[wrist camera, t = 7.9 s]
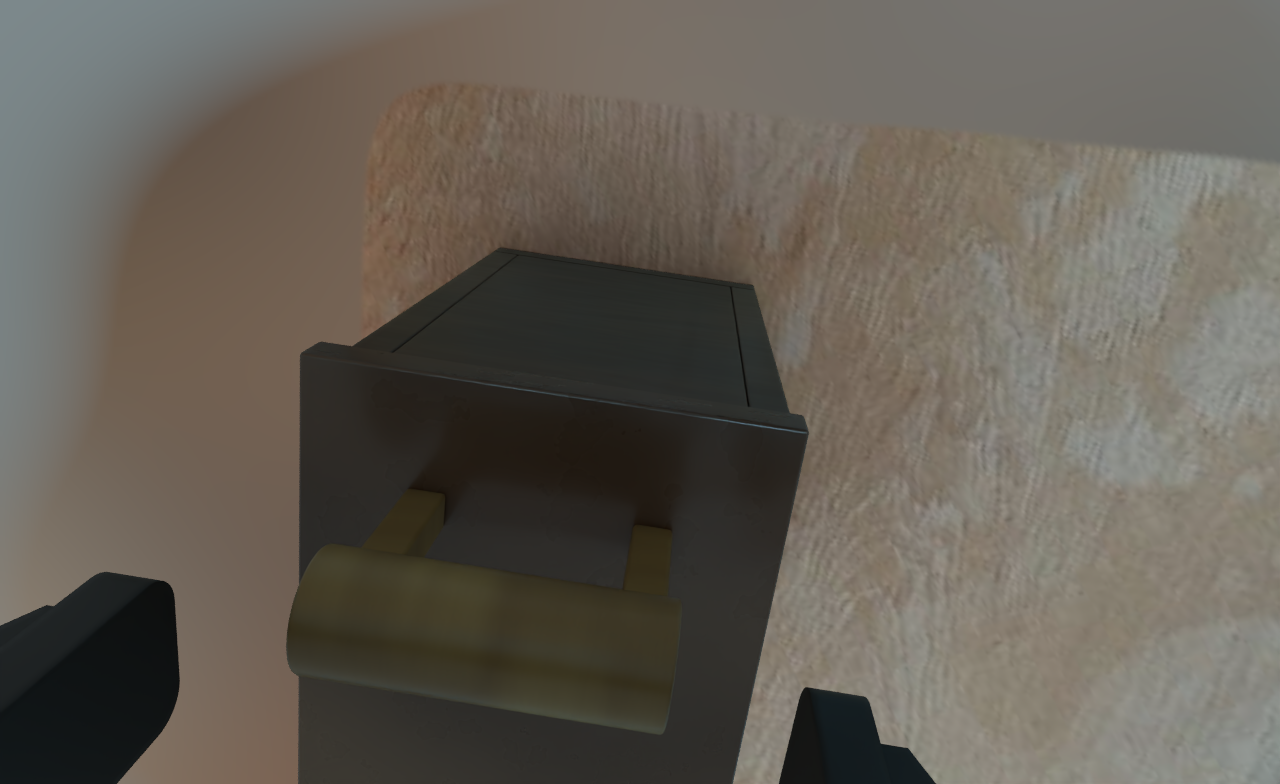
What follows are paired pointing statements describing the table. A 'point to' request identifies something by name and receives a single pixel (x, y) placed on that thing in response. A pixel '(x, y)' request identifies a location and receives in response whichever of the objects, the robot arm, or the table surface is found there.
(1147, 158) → the table surface
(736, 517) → the lid
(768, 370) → the chest
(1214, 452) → the table surface
